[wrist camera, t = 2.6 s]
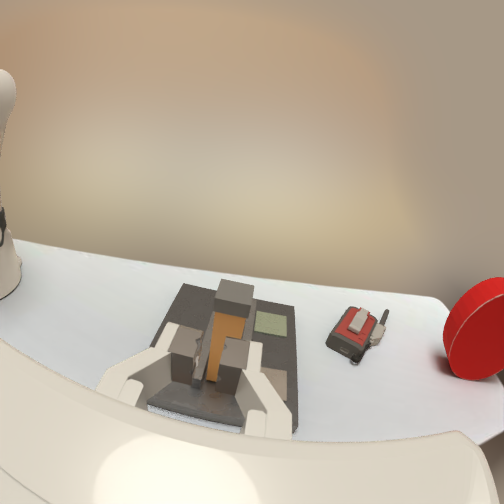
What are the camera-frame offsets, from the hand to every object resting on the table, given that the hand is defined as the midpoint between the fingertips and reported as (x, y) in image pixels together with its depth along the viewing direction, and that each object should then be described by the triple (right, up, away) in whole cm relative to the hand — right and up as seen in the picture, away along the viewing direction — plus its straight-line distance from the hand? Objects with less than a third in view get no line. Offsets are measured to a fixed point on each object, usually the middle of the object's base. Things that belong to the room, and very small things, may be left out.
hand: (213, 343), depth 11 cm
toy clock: (+44, -20, +29) cm, 56 cm away
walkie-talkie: (+22, -11, +38) cm, 45 cm away
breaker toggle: (-2, -11, +21) cm, 24 cm away
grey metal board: (-2, -11, +28) cm, 30 cm away
